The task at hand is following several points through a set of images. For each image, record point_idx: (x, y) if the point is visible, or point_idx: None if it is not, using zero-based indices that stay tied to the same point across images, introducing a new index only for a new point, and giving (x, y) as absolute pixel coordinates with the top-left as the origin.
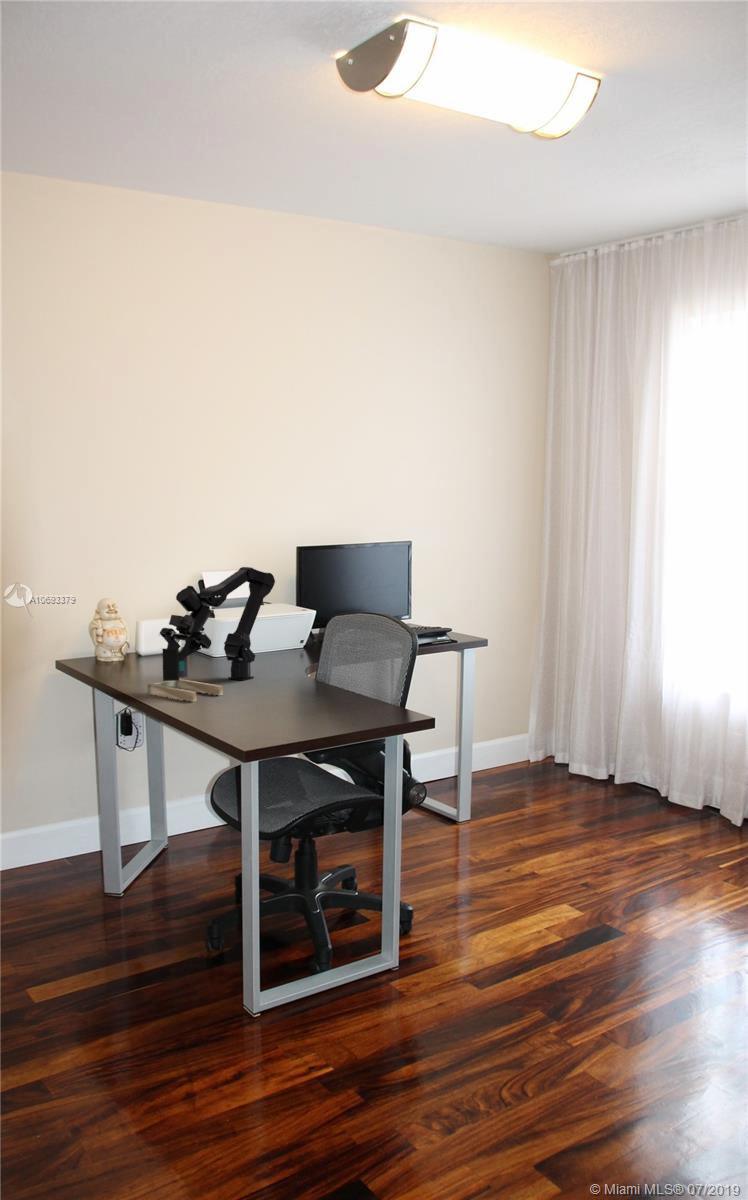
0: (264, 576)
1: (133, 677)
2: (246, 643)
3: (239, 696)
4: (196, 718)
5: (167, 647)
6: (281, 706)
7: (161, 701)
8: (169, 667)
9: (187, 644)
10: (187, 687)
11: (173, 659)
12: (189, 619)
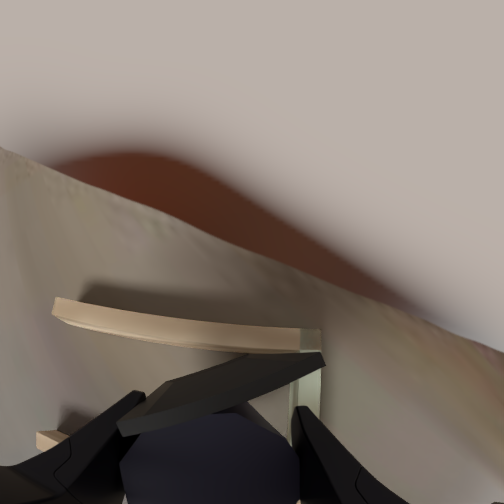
0: None
1: (500, 450)
2: None
3: (15, 439)
4: (23, 187)
5: (358, 467)
6: None
7: (172, 272)
8: (220, 374)
9: (25, 471)
10: None
11: (189, 391)
12: None
